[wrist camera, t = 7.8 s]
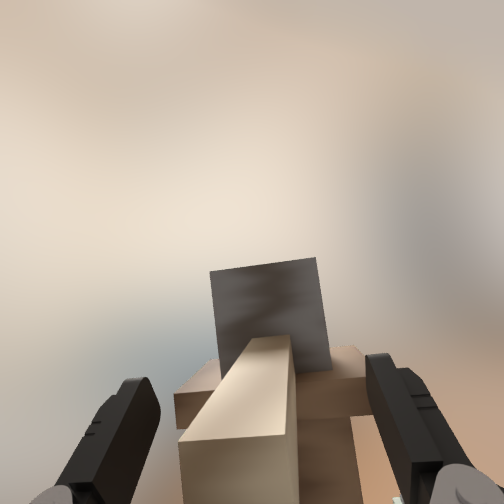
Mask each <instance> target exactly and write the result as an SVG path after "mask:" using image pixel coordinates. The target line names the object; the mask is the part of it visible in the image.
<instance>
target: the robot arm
mask: <svg viewBox="0 0 504 504" xmlns="http://www.w3.org/2000/svg"><path fill="white" fill-rule="evenodd" d="M365 372H366V390H367V396H368V400H369V404H370V407H371V410H372V413H373V415H374V418H375V421H376V424H377V427H378V429H379V433H380V436H381V438H382V441H383V444H384V447H385V450H386V452H387V456H388V458H389V461H390V464H391V467H392V470H393V473H394V475H395V478H396V481H397V484H398V487H399V490H400V493H401V495H402V498H403V501H404V504H504V488H503V487H500V486H499V485H497V484H495V483H494V482H493V481H492V480H491V479H490V478H489V477H488V476H486V475H485V474H483V473H482V472H480V471H479V470H477V469H476V468H475V467H474V466H473V465H472V463H471V462H470V460H469V459H468V457H467V456H466V454H465V453H464V451H463V449H462V447H461V446H460V444H459V442H458V440H457V439H456V437H455V435H454V433H453V432H452V430H451V428H450V427H449V425H448V423H447V422H446V420H445V418H444V416H443V415H442V413H441V411H440V410H439V409H438V406H437V404H436V403H435V401H434V399H433V398H432V397H431V395H430V392H429V391H428V389H427V387H426V385H425V384H424V382H423V380H422V379H421V378H420V377H419V376H417V375H416V374H415V373H414V372H413V371H412V370H410V369H409V368H396V367H395V364H394V362H393V360H392V358H391V356H390V355H389V354H388V353H382V354H371V355H366V356H365ZM160 415H161V409H160V405H159V402H158V399H157V397H156V395H155V392H154V390H153V388H152V385H151V383H150V381H149V379H148V378H147V377H141V378H131V379H126V380H125V381H124V382H123V383H122V385H121V387H120V389H119V391H118V392H117V394H116V395H112V396H111V397H110V398H109V399H108V400H107V401H106V402H105V403H104V404H103V405H102V406H101V407H100V408H99V410H98V412H97V413H96V415H95V417H94V418H93V420H92V424H91V425H89V427H88V429H87V431H86V432H85V436H84V437H82V439H81V441H80V442H79V444H78V446H77V448H76V449H75V451H74V453H73V455H72V456H71V458H70V460H69V461H68V463H67V465H66V467H65V468H64V470H63V472H62V473H61V475H60V477H59V479H58V480H57V482H56V484H55V485H54V486H53V487H51V488H49V489H47V490H45V491H44V492H42V493H41V494H39V495H38V496H37V497H36V498H35V499H34V500H33V501H32V502H31V503H30V504H130V503H131V500H132V498H133V495H134V492H135V489H136V486H137V484H138V480H139V478H140V475H141V472H142V470H143V467H144V464H145V461H146V458H147V456H148V453H149V450H150V447H151V445H152V442H153V439H154V436H155V433H156V430H157V428H158V425H159V422H160Z"/></svg>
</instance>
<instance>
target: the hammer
mask: <svg viewBox="0 0 504 504" xmlns="http://www.w3.org/2000/svg"><path fill="white" fill-rule="evenodd" d="M210 280H211V289H212V297H213V307H214V316H215V326H216V335H217V344H218V353H219V362H220V371H221V380H222V381H221V383H220V384H219V385H218V387H217V388H216V390H215V391H214V392H213V394H212V395H211V396H210V398H209V399H208V401H207V402H206V403H205V405H204V406H203V408H202V409H201V410H200V412H199V413H198V415H197V416H196V417H195V419H194V420H193V422H192V423H191V424H190V426H189V427H188V428H187V430H186V431H185V433H184V434H183V435H182V437H181V438H180V440H179V441H178V448H179V458H180V470H181V481H182V491H183V502H184V504H299V477H298V446H297V415H296V384H295V374H298V373H309V372H319V371H330V370H333V368H332V362H331V355H330V349H329V342H328V336H327V329H326V322H325V316H324V309H323V303H322V296H321V289H320V283H319V276H318V270H317V263H316V257H314V258H306V259H299V260H292V261H284V262H278V263H270V264H263V265H255V266H248V267H240V268H233V269H225V270H218V271H211V272H210Z"/></svg>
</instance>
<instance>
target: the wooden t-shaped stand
mask: <svg viewBox="0 0 504 504" xmlns="http://www.w3.org/2000/svg"><path fill="white" fill-rule="evenodd" d="M329 349H330V355H331V362H332V368H333V370H330V371H319V372H309V373H298V374H295V384H296V415H297V446H298V477H299V504H363V498H362V492H361V485H360V478H359V472H358V466H357V459H356V453H355V446H354V440H353V433H352V427H351V420H350V416H364V415H373V413H372V410H371V407H370V404H369V400H368V396H367V390H366V372H365V356H364V355H363V354H362V353H361V352H360V351H359V350H358V349H357V348H356V347H355V346H354V345H352V346H342V347H332V348H329ZM221 381H222V380H221V371H220V362H219V359H213V360H209V361H208V362H207V363H206V364H205V365H204V366H203V367H202V368H201V369H200V370H198V371H197V372H196V373H195V374H194V375H193V376H192V377H191V378H190V379H189V380H188V381H187V382H186V383H185V384H183V385H182V386H181V387H180V388H179V389H178V390H177V391H176V392H175V393H174V404H175V414H176V425H177V429H187V428H188V427H189V426H190V424H191V423H192V422H193V420H194V419H195V417H196V416H197V415H198V413H199V412H200V410H201V409H202V408H203V406H204V405H205V403H206V402H207V401H208V399H209V398H210V396H211V395H212V394H213V392H214V391H215V390H216V388H217V387H218V385H219V384H220V383H221Z"/></svg>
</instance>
